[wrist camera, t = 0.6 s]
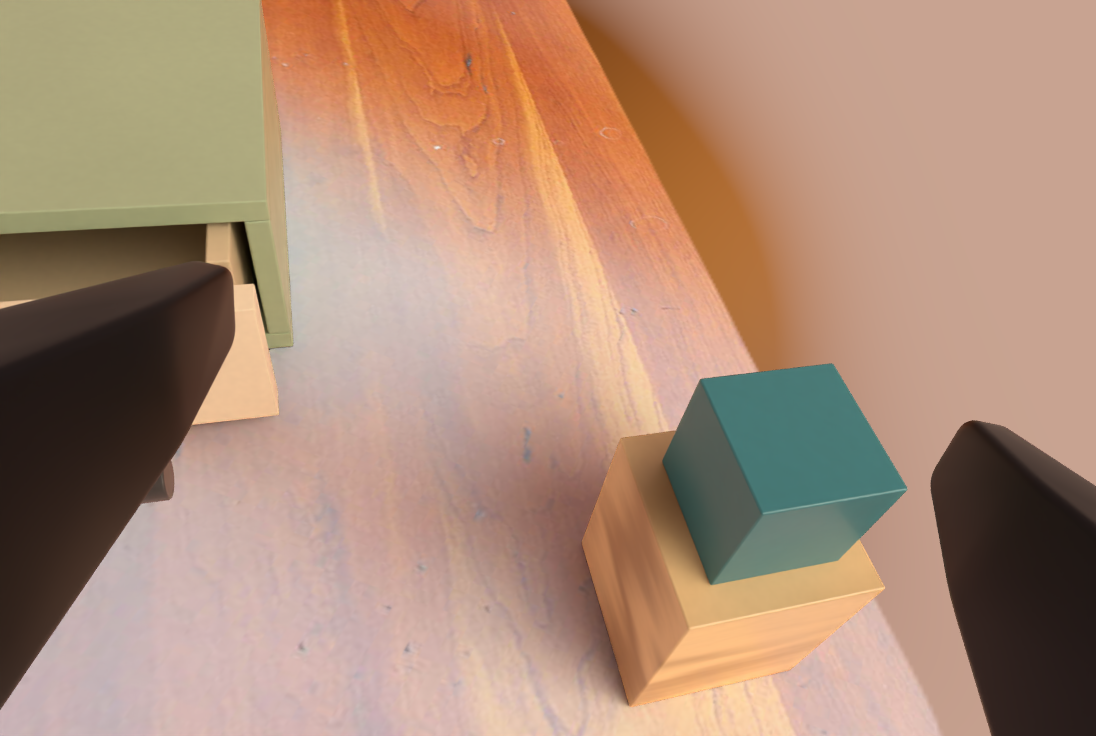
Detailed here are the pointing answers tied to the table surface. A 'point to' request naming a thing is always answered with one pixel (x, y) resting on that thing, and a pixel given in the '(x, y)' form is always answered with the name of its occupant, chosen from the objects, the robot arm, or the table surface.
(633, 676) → the riser
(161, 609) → the table surface
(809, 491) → the block
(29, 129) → the cabinet
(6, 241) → the drawer
